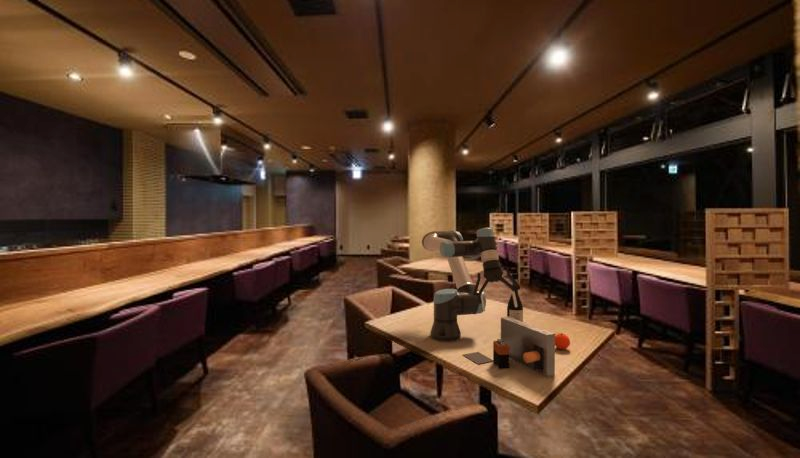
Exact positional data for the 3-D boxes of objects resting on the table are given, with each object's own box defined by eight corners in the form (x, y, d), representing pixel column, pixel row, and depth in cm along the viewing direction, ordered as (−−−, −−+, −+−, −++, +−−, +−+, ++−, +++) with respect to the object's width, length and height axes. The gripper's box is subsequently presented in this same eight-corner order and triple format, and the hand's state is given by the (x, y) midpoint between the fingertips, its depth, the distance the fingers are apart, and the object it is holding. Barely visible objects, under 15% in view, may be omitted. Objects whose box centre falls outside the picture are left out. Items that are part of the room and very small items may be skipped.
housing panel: (500, 353, 159) (500, 317, 159) (508, 352, 161) (508, 316, 160) (546, 377, 135) (546, 335, 135) (554, 375, 137) (554, 333, 136)
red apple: (548, 346, 168) (548, 331, 168) (559, 344, 170) (559, 329, 170) (561, 352, 160) (561, 336, 160) (573, 350, 163) (573, 334, 162)
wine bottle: (524, 332, 189) (525, 274, 188) (509, 332, 189) (509, 274, 188) (520, 327, 197) (520, 272, 196) (505, 327, 197) (505, 272, 196)
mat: (462, 355, 158) (462, 354, 158) (478, 352, 161) (478, 351, 161) (478, 364, 148) (478, 363, 148) (493, 361, 151) (493, 360, 151)
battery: (503, 361, 150) (503, 338, 150) (509, 368, 143) (509, 343, 143) (492, 362, 150) (492, 338, 150) (499, 369, 143) (499, 344, 143)
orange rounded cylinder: (523, 360, 138) (523, 351, 138) (533, 358, 140) (533, 349, 140) (529, 364, 135) (530, 354, 135) (540, 362, 137) (540, 352, 137)
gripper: (462, 263, 161) (471, 311, 154) (520, 255, 158) (531, 303, 151) (462, 267, 168) (470, 313, 160) (517, 259, 165) (528, 306, 158)
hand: (500, 309), depth 156 cm, fingers open, 13 cm apart
